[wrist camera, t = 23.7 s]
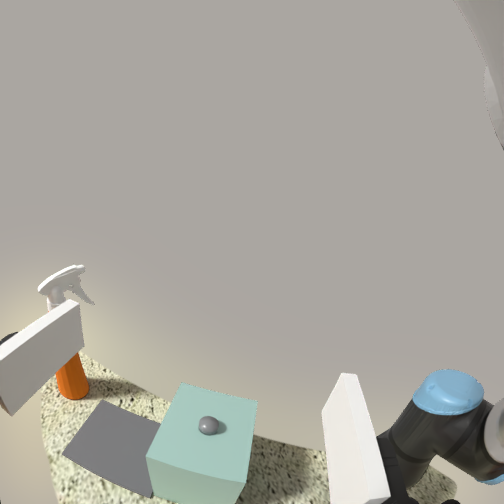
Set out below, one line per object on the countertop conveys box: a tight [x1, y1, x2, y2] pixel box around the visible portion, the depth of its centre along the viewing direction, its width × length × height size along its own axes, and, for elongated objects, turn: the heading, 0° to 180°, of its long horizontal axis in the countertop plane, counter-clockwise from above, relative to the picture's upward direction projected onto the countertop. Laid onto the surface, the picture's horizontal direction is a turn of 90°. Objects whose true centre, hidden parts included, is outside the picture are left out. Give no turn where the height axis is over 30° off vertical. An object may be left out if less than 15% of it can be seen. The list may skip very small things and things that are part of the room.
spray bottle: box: [38, 265, 95, 400], centre depth 38 cm, size 7×11×26 cm, turn 139°
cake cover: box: [146, 382, 258, 504], centre depth 30 cm, size 11×14×16 cm
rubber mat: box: [62, 400, 161, 498], centre depth 32 cm, size 16×16×1 cm
